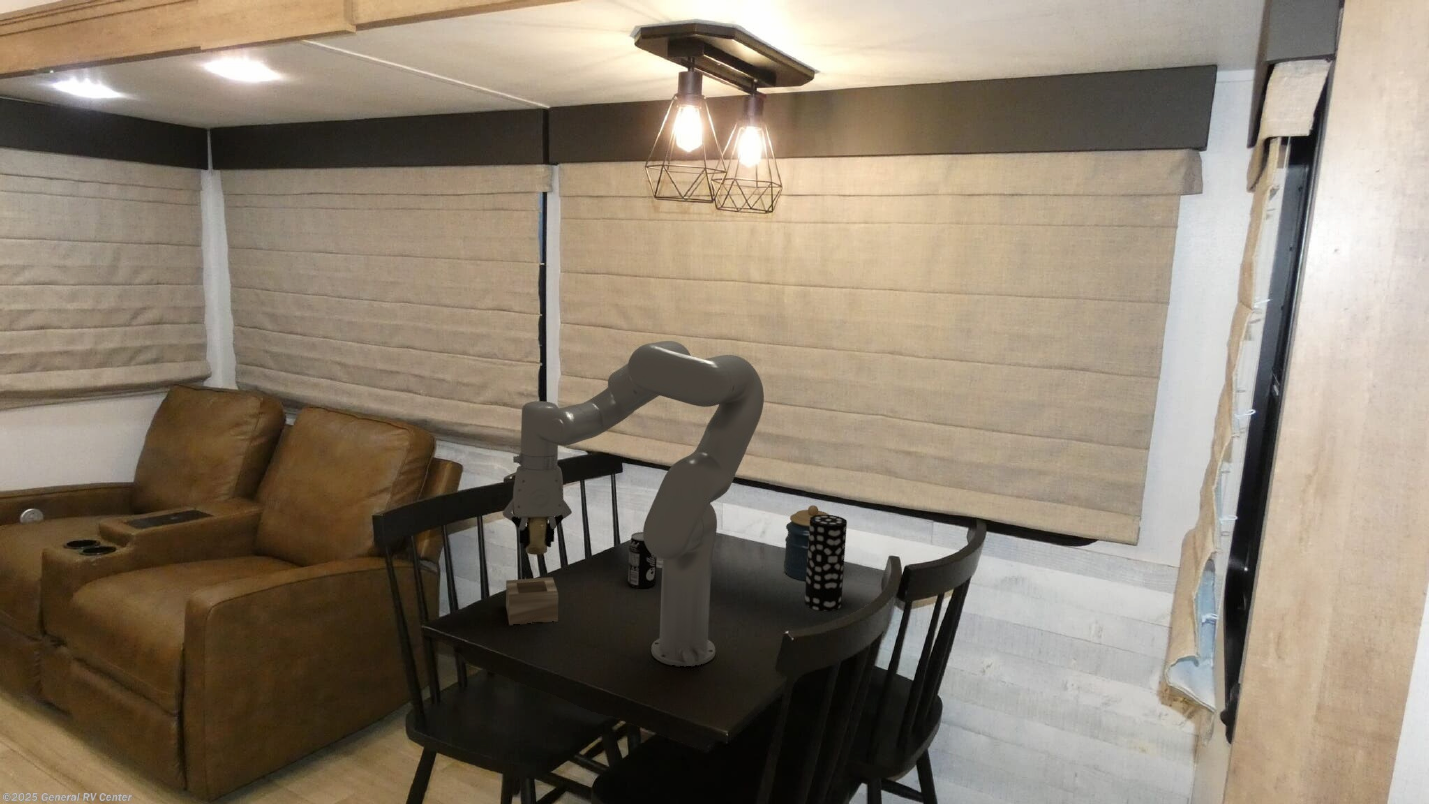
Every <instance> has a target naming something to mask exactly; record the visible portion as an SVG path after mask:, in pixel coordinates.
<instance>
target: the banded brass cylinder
mask: <svg viewBox="0 0 1429 804" xmlns="http://www.w3.org/2000/svg"><path fill="white" fill-rule="evenodd" d="M548 523H549V520H548V517H528V519H527V523H526V529H527V531H528V533H527V548H525V552H526V553H527V554H528V555H533V556H537V555H543V554H545V553H547V552H548V547H547V535H548Z"/></svg>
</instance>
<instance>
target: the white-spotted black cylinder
mask: <svg viewBox="0 0 1429 804" xmlns="http://www.w3.org/2000/svg"><path fill="white" fill-rule="evenodd" d="M847 526H848V521H847V519H846V518H844V517H842V516H839V515H833V514H829V515H815V516H812V517H810V526H809V542H808V558H807V574H806V581H805V592H804V605H805V606H807V607H808V608H810V609H813V610H817V611H822V612H832V611H837V610H839V609H840V608H842V597H843V586H844V585H843V583H844V569H845V556H846V553H845V552H846V539H847Z"/></svg>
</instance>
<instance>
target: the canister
mask: <svg viewBox="0 0 1429 804" xmlns="http://www.w3.org/2000/svg"><path fill="white" fill-rule="evenodd" d="M815 515H830V514H829V513H828V512H825V511H821V510H819V508H818V506H816V505H813V504H812V505H810V506H808V509H802V510H797V511H796V513H793V514H791V515H790V517H789V519H790V522H788V523H787V524H786V525H785V529H786V531H787V536H785V553H784V561H783V568H784V573H785V572H786V573H787V574H786V573H785V574H786V575H787V576H788V577H790V576H791V578H793V579H795V578H796V580H799V581H804V580H806V574H807V558H808V542H809V526H810V517H812V516H815Z"/></svg>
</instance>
